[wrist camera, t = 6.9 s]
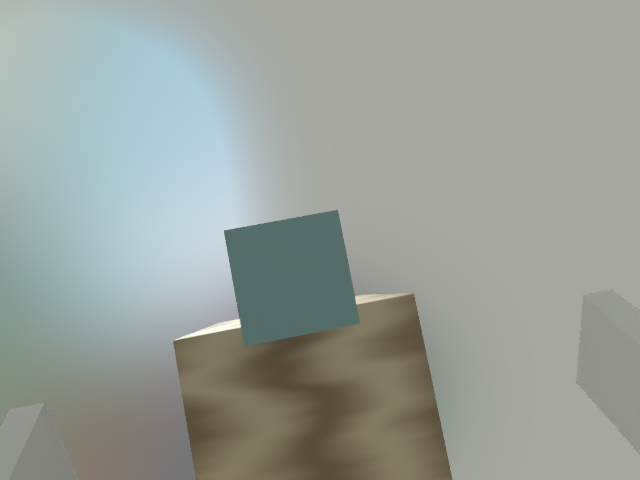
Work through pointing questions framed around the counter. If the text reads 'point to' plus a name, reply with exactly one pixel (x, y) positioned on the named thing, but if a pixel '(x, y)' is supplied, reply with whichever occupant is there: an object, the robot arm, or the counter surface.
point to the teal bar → (291, 277)
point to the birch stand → (315, 401)
